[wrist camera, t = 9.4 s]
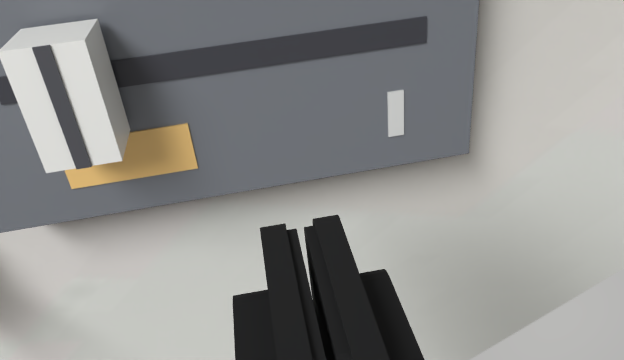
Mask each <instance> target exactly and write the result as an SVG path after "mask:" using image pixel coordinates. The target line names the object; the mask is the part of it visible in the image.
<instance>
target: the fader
mask: <svg viewBox="0 0 624 360" xmlns="http://www.w3.org/2000/svg"><path fill="white" fill-rule="evenodd" d="M0 60H1V62H2V65H3V67H4V70H5V72H6V75H7V77H8V80H9V82H10V85H11V87H12V90H13V92H14V95H15V97H16V100H17V102H18V105H19V107H20V110H21V112H22V115H23V117H24V120H25V122H26V124H27V127H28V129H29V132H30V134H31V137H32V139H33V142H34V144H35V147H36V149H37V152H38V154H39V157H40V159H41V162H42V164H43V167H44V169H45V172H46V173H51V172H57V171H63V170H69V169H75V168H76V169H83V168H89V167H92V166H94V165H100V164H107V163H113V162H119V161H122V160H123V156H124V152H125V149H126V145H127V141H128V137H129V133H130V127H129V123H128V120H127V116H126V113H125V110H124V106H123V103H122V99H121V96H120V93H119V89H118V86H117V82H116V79H115V76H114V72H113V69H112V65H111V62H110V59H109V55H108V52H107V48H106V45H105V42H104V38H103V35H102V31H101V28H100V25H99V21H98V19H91V20H83V21H76V22H69V23H61V24H54V25H46V26H39V27H31V28H24V29H20V30H19V31H18V32H17V33H16V34H15V35H14V36H13V37H12V38H11V39H10V40H9V41H8V42H7V43H6V44H5V45H4V46H3V47H2V48H1V49H0Z"/></svg>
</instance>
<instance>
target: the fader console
mask: <svg viewBox="0 0 624 360" xmlns="http://www.w3.org/2000/svg"><path fill="white" fill-rule="evenodd" d="M478 10H479V0H0V49H1V48H2V47H3V46H4V45H5V44H6V43H7V42H8V41H9V40H10V39H11V38H12V37H13V36H14V35H15V34H16V33H17V32H18V31H19V30H20V29H24V28H31V27H39V26H46V25H54V24H61V23H69V22H76V21H83V20H91V19H98V21H99V25H100V28H101V31H102V35H103V38H104V42H105V45H106V48H107V52H108V55H109V59H110V62H111V65H112V69H113V72H114V76H115V79H116V82H117V86H118V89H119V93H120V96H121V99H122V103H123V106H124V110H125V113H126V116H127V120H128V123H129V127H130V133H129V137H128V141H127V145H126V149H125V152H124V156H123V160H122V161H119V162H113V163H107V164H100V165H94V166H92V167H89V168H83V169H76V168H75V169H69V170H63V171H57V172H51V173H46V172H45V169H44V167H43V164H42V162H41V159H40V157H39V154H38V152H37V149H36V147H35V144H34V142H33V139H32V137H31V134H30V132H29V129H28V127H27V124H26V122H25V120H24V117H23V115H22V112H21V110H20V107H19V105H18V102H17V100H16V97H15V95H14V92H13V90H12V87H11V85H10V82H9V80H8V77H7V75H6V72H5V70H4V67H3V65H2V62H1V60H0V233H2V232H8V231H14V230H20V229H26V228H32V227H37V226H43V225H49V224H55V223H61V222H67V221H73V220H79V219H85V218H90V217H96V216H102V215H108V214H114V213H120V212H126V211H132V210H138V209H143V208H149V207H155V206H161V205H167V204H173V203H179V202H185V201H191V200H196V199H202V198H208V197H214V196H220V195H226V194H232V193H238V192H244V191H249V190H255V189H261V188H267V187H273V186H279V185H285V184H291V183H297V182H302V181H308V180H314V179H320V178H326V177H332V176H338V175H344V174H350V173H355V172H361V171H367V170H373V169H379V168H385V167H391V166H397V165H403V164H408V163H414V162H420V161H426V160H432V159H438V158H444V157H450V156H456V155H461V154H467V153H469V142H470V127H471V112H472V98H473V83H474V68H475V54H476V39H477V25H478Z"/></svg>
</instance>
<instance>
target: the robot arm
mask: <svg viewBox="0 0 624 360" xmlns="http://www.w3.org/2000/svg"><path fill="white" fill-rule="evenodd" d="M260 232H261V240H262V248H263V255H264V263H265V271H266V279H267V286H268V290H263V291H258V292H252V293H246V294H241V295H235V296H233V317H234V339H235V360H424V358H423V355H422V353H421V351H420V348H419V346H418V343H417V341H416V339H415V336H414V334H413V332H412V329H411V327H410V325H409V322H408V320H407V317H406V315H405V313H404V310H403V308H402V306H401V303H400V301H399V299H398V296H397V294H396V291H395V289H394V287H393V284H392V282H391V280H390V277H389V275H388V273H387V271H386V270H385V269H382V270H377V271H371V272H365V273H360V274H359V272H358V269H357V266H356V263H355V260H354V258H353V255H352V252H351V249H350V246H349V243H348V241H347V238H346V235H345V232H344V229H343V226H342V224H341V221H340V218H339V216H338V215H334V216H328V217H322V218H316V219H313V226H309V227H304V233H305V241H306V249H307V258H308V266H309V274H310V282H311V290H312V295H311V291H310V287H309V282H308V278H307V273H306V269H305V265H304V260H303V256H302V251H301V247H300V243H299V238H298V234H297V230H296V229H291V230H286V225H285V224H280V225H274V226H268V227H262V228H260ZM312 298H313V300H312Z"/></svg>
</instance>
